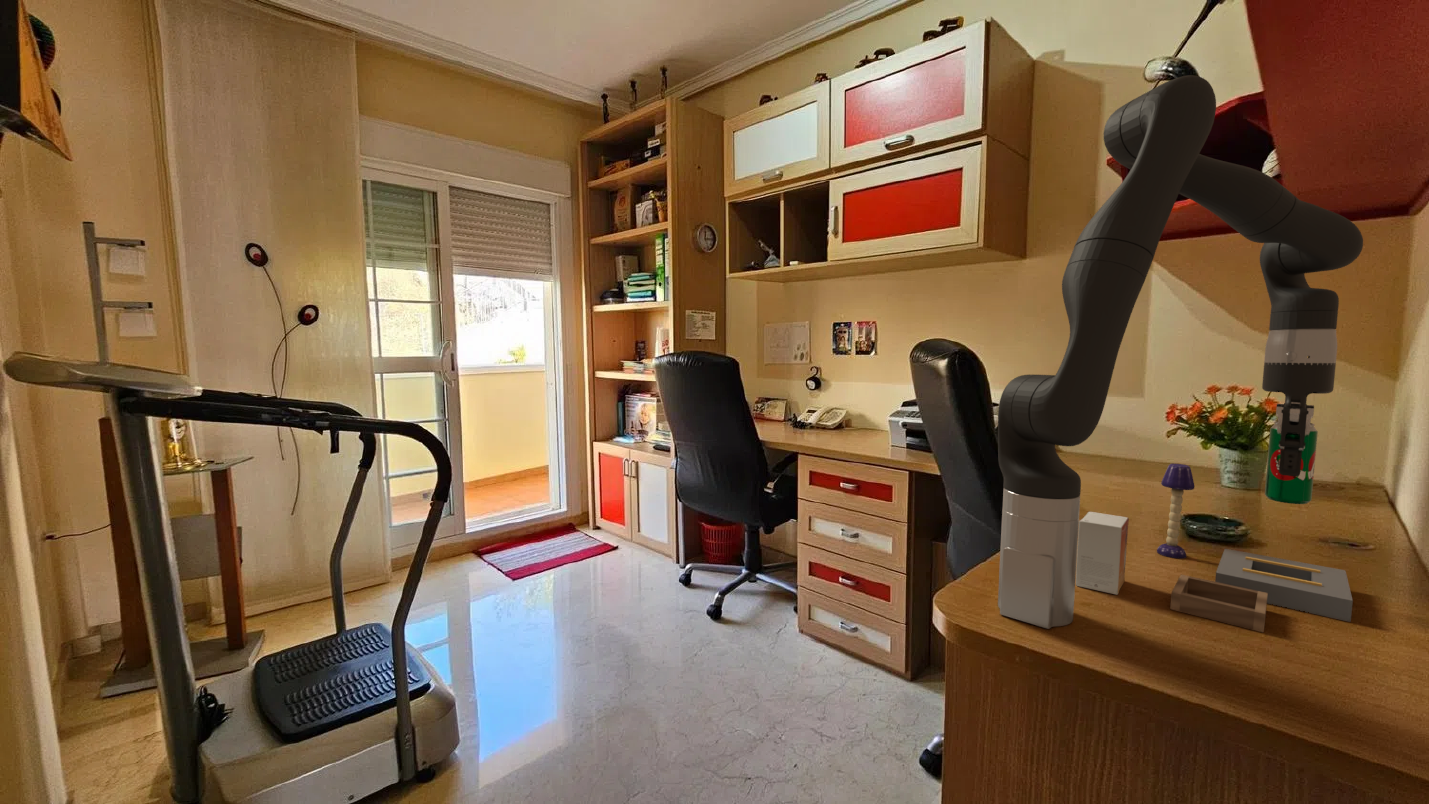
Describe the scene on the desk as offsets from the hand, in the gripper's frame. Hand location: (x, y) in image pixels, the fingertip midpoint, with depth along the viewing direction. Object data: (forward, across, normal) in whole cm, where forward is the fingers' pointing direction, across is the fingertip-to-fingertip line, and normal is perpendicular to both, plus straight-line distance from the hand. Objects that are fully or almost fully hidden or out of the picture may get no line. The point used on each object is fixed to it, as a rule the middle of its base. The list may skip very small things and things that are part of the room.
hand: (1289, 472), depth 87 cm
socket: (+18, 0, 0) cm, 18 cm away
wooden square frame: (+18, -16, +6) cm, 25 cm away
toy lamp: (+19, +8, +14) cm, 25 cm away
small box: (+19, -17, +20) cm, 32 cm away
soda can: (+5, 0, 0) cm, 5 cm away
